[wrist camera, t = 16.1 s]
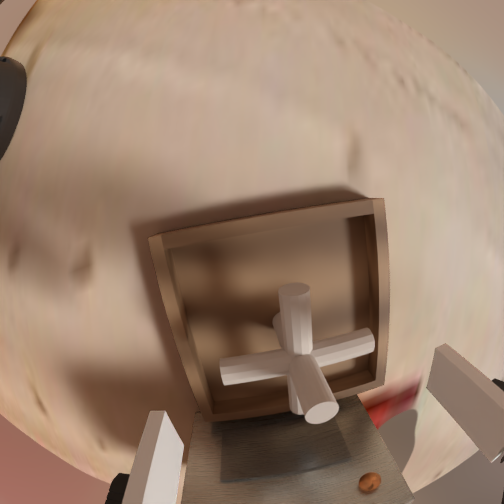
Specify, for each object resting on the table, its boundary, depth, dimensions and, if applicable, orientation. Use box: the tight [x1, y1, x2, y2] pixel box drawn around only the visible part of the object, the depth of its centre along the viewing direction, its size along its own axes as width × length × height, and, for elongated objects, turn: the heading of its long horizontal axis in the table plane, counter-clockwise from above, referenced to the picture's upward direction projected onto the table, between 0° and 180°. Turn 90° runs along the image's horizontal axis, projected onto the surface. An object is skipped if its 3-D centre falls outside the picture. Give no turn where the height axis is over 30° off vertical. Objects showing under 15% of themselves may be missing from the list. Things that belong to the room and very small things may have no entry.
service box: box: [181, 394, 415, 504], centre depth 18 cm, size 13×16×15 cm
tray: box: [148, 198, 390, 422], centre depth 21 cm, size 17×17×2 cm
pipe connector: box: [219, 282, 375, 424], centre depth 16 cm, size 10×10×10 cm
